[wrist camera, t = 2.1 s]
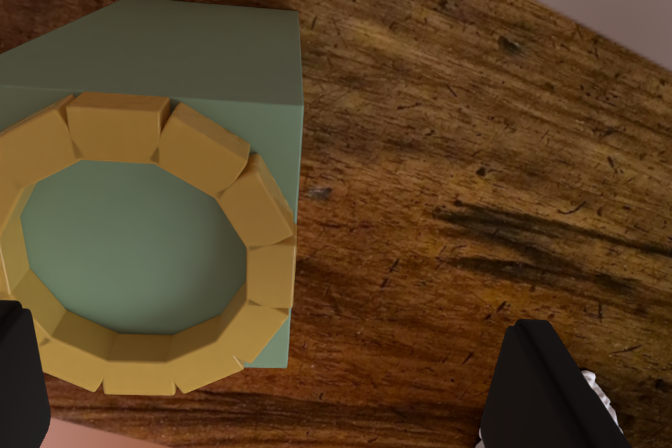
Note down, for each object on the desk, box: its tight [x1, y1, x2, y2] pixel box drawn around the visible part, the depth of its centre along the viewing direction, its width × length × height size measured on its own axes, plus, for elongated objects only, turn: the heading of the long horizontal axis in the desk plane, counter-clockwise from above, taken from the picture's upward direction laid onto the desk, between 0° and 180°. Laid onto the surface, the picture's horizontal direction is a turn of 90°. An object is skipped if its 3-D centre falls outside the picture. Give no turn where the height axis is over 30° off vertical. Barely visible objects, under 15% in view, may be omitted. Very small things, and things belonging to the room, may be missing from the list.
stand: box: [0, 0, 304, 368], centre depth 22 cm, size 8×8×16 cm
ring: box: [0, 91, 297, 395], centre depth 14 cm, size 8×8×1 cm
